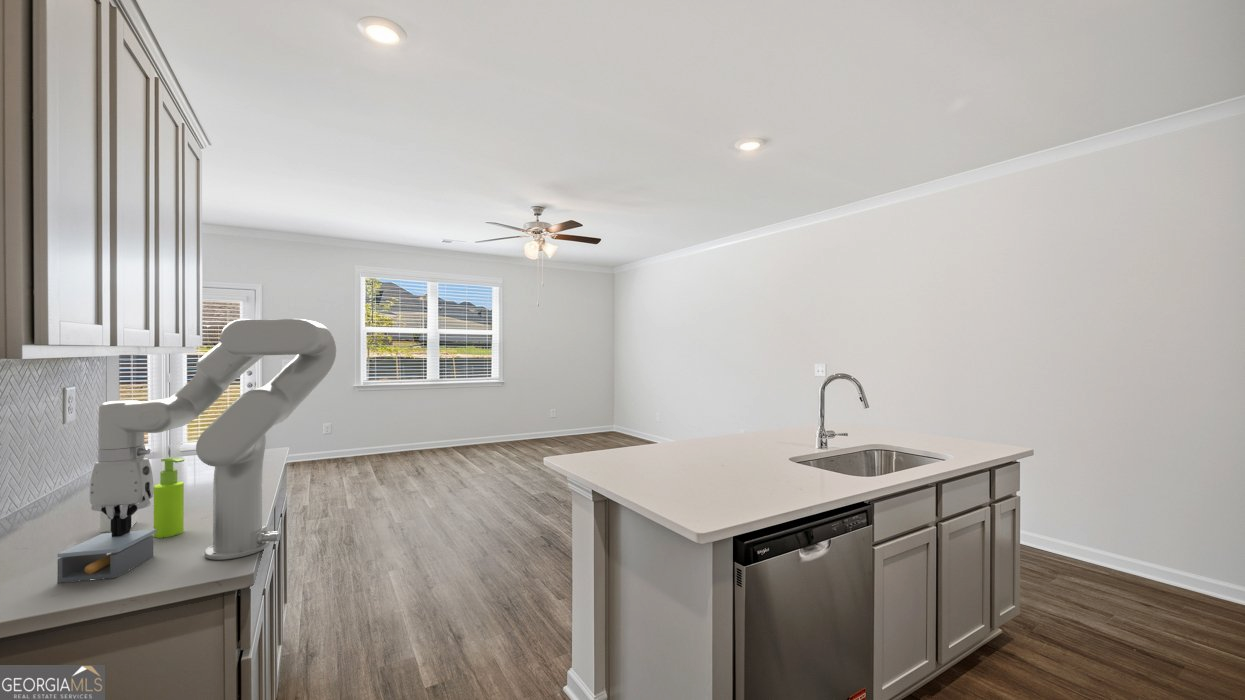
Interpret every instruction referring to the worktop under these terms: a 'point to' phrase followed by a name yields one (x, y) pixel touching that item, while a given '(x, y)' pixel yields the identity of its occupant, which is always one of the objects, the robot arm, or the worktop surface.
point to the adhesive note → (106, 523)
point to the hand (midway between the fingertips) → (121, 534)
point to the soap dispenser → (169, 502)
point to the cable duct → (104, 563)
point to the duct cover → (107, 543)
